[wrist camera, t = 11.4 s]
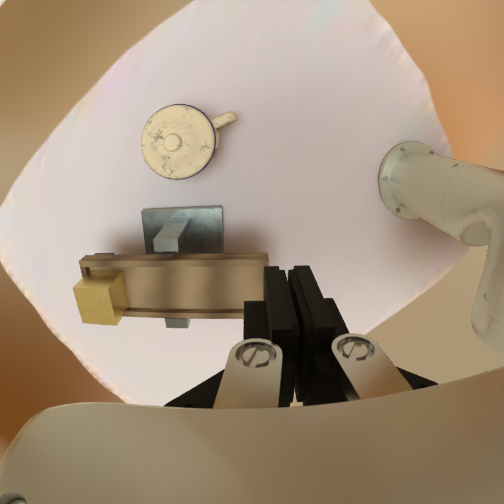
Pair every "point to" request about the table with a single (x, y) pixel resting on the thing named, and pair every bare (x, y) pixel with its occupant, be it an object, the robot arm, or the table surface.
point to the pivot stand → (183, 235)
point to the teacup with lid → (181, 140)
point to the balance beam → (185, 282)
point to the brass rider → (102, 297)
